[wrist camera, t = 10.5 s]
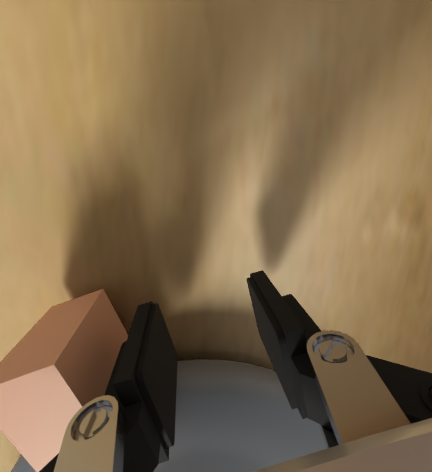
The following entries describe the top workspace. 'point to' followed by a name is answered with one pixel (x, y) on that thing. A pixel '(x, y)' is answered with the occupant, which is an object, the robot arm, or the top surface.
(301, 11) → the top surface
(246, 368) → the turntable
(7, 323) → the top surface
